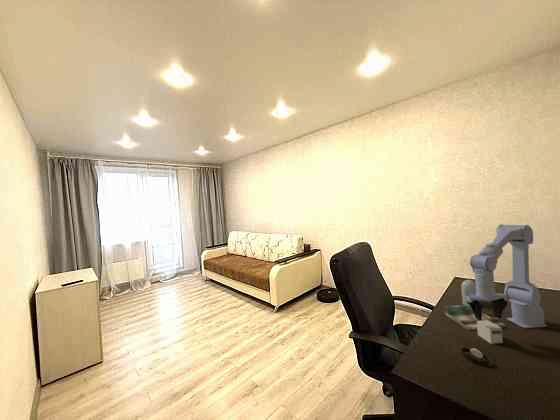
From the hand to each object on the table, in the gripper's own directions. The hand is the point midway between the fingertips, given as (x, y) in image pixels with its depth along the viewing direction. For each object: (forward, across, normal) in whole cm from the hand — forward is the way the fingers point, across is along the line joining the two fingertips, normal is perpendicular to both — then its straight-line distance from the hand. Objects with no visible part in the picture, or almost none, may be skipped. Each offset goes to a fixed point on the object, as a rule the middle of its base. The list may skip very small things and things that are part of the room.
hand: (487, 318), depth 90 cm
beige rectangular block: (+9, 0, 0) cm, 9 cm away
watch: (+9, +15, +11) cm, 21 cm away
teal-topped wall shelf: (+8, -5, -14) cm, 17 cm away
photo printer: (+9, -17, -31) cm, 36 cm away
